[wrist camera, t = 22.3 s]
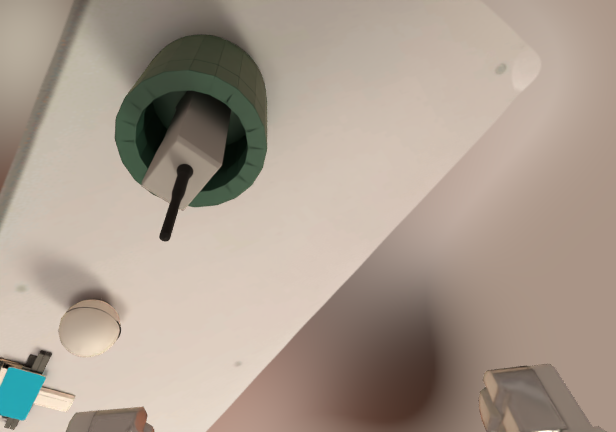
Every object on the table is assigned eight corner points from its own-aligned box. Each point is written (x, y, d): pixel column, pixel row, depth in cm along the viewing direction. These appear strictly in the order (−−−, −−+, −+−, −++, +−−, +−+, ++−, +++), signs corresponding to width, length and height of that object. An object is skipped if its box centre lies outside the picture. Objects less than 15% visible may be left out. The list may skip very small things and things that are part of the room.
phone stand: (53, 434, 78) (49, 444, 77) (-24, 416, 74) (-30, 426, 73) (92, 365, 70) (89, 374, 68) (7, 339, 65) (2, 349, 64)
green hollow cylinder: (132, 39, 45) (94, 77, 35) (258, 29, 45) (256, 64, 35) (162, 153, 52) (137, 212, 42) (271, 144, 52) (273, 200, 42)
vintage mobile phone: (176, 105, 48) (107, 256, 27) (204, 67, 46) (153, 199, 25) (206, 126, 49) (164, 285, 29) (234, 91, 48) (210, 233, 27)
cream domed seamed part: (113, 333, 66) (98, 376, 60) (61, 313, 63) (39, 356, 57) (145, 289, 62) (132, 331, 56) (91, 266, 59) (71, 307, 53)
